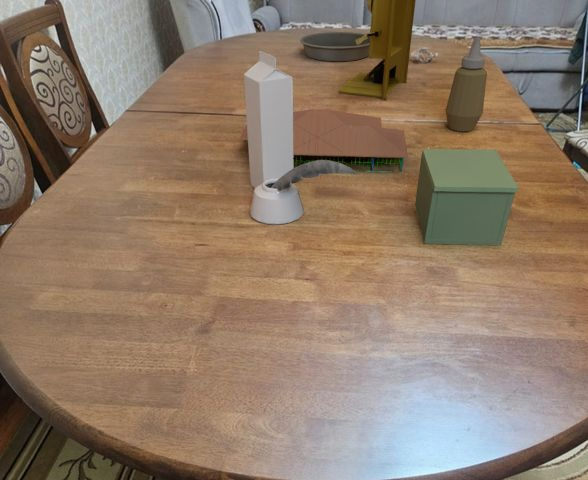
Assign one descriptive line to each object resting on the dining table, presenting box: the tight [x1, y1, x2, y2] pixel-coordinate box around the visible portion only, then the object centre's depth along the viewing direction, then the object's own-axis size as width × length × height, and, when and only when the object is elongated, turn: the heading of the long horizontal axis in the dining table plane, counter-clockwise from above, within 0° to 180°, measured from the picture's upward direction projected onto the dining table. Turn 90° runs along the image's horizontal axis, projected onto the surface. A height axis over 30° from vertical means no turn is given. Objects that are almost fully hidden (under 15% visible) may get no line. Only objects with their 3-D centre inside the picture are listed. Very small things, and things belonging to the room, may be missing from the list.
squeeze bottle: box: [445, 37, 488, 132], centre depth 118 cm, size 8×8×18 cm
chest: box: [414, 154, 516, 246], centre depth 86 cm, size 14×12×9 cm
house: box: [238, 108, 410, 173], centre depth 111 cm, size 23×33×8 cm
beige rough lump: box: [409, 46, 439, 64], centre depth 171 cm, size 8×4×7 cm
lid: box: [421, 148, 519, 194], centre depth 82 cm, size 14×12×1 cm
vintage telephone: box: [338, 0, 416, 101], centre depth 140 cm, size 31×14×30 cm, turn 155°
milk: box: [243, 50, 295, 189], centre depth 93 cm, size 6×6×22 cm
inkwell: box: [249, 159, 358, 225], centre depth 88 cm, size 9×18×10 cm, turn 74°
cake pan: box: [299, 31, 370, 62], centre depth 180 cm, size 25×25×4 cm
